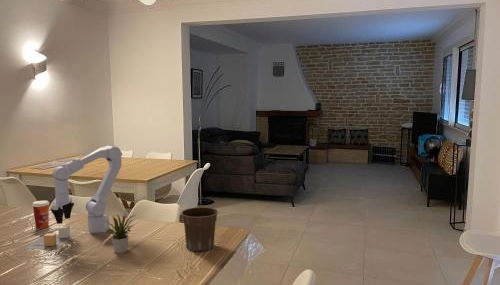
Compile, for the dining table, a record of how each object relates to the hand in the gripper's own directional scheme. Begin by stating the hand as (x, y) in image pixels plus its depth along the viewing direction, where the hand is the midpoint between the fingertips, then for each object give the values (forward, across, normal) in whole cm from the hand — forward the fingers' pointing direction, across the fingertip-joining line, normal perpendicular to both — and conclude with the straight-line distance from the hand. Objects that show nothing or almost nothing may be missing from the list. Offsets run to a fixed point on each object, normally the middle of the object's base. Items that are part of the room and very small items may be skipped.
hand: (63, 220), depth 179 cm
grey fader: (+8, 0, 0) cm, 8 cm away
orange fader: (+8, +10, -2) cm, 13 cm away
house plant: (+9, +13, +32) cm, 36 cm away
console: (+9, +5, -4) cm, 11 cm away
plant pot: (+9, +9, +65) cm, 66 cm away
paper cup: (+9, -16, -19) cm, 27 cm away
